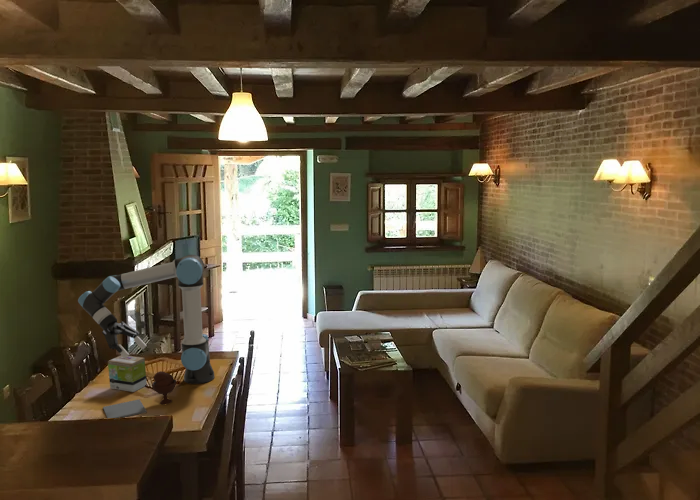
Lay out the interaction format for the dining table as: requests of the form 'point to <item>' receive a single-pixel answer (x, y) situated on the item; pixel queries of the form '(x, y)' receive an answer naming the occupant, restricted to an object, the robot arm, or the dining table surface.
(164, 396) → the ice cream bowl
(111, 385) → the tea box
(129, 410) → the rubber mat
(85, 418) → the dining table surface
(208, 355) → the robot arm
